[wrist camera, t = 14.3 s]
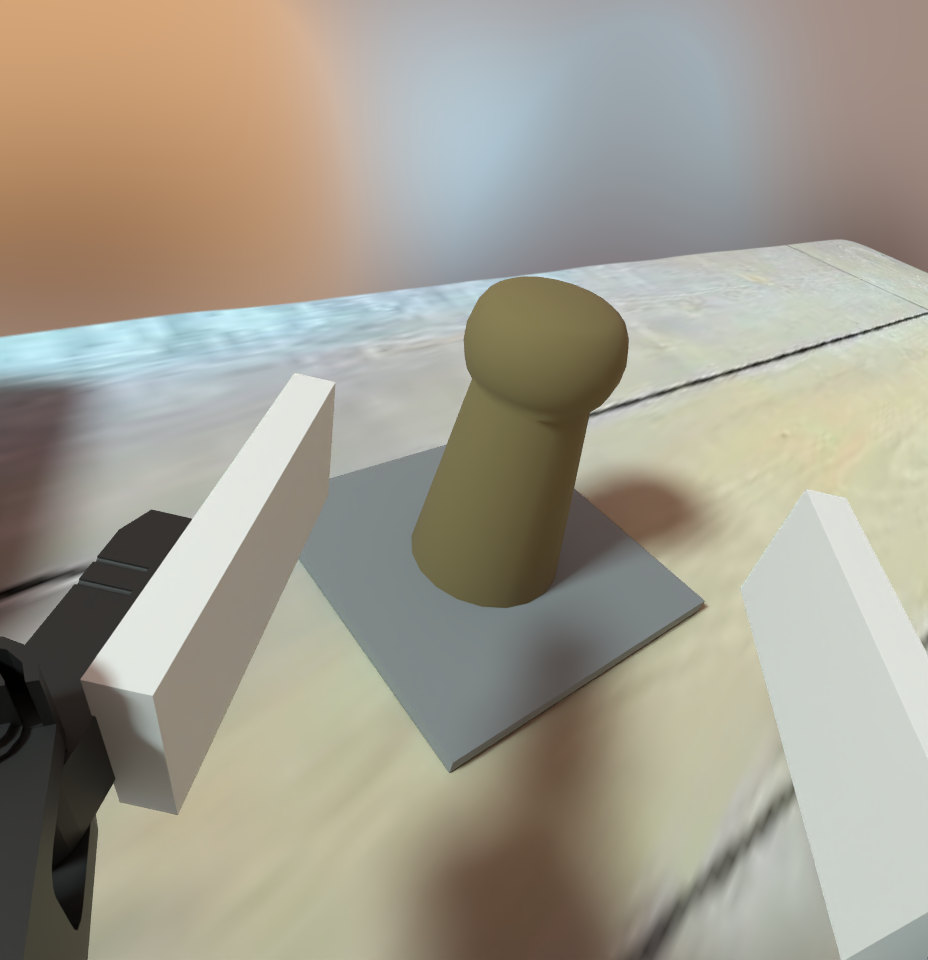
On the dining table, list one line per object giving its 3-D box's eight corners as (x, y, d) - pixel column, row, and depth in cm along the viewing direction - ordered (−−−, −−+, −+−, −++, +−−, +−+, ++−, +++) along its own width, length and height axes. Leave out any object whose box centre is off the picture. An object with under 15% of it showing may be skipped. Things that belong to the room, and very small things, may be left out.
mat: (698, 610, 27) (704, 600, 27) (449, 772, 20) (452, 762, 19) (501, 437, 34) (503, 427, 34) (263, 509, 27) (263, 498, 26)
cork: (529, 498, 30) (608, 263, 23) (579, 602, 25) (694, 348, 19) (399, 501, 28) (442, 246, 21) (427, 613, 23) (494, 336, 17)
